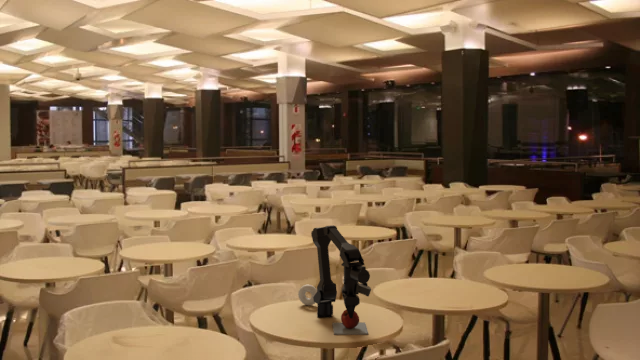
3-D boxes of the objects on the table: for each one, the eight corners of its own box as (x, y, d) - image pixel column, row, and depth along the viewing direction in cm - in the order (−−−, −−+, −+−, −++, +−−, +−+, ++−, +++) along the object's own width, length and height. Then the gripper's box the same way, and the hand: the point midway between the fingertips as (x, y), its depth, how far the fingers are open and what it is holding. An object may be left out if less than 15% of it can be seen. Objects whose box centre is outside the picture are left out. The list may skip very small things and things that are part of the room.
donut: (297, 305, 320) (297, 284, 319) (299, 303, 323) (299, 282, 322) (317, 307, 316) (317, 286, 315) (319, 305, 320) (319, 284, 318)
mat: (334, 334, 278) (334, 333, 278) (332, 324, 292) (332, 322, 292) (368, 334, 278) (368, 333, 278) (365, 323, 292) (365, 322, 292)
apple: (337, 326, 287) (337, 307, 286) (354, 324, 290) (354, 305, 289) (345, 331, 280) (345, 312, 279) (362, 329, 283) (362, 310, 282)
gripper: (372, 283, 274) (371, 321, 275) (367, 272, 292) (367, 308, 294) (344, 283, 274) (344, 321, 275) (341, 272, 292) (341, 308, 294)
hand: (350, 314), depth 284 cm, fingers open, 9 cm apart
